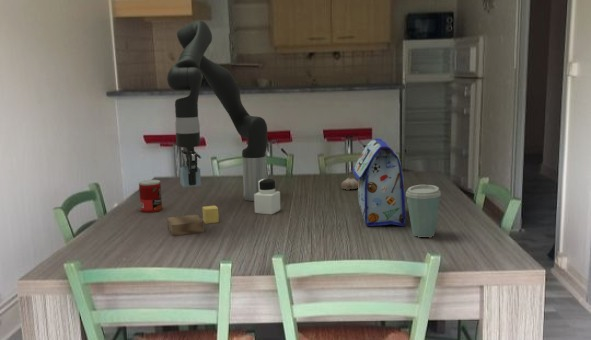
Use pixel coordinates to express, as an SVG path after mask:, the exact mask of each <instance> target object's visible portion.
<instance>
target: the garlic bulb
mask: <svg viewBox="0 0 591 340" xmlns="http://www.w3.org/2000/svg"><path fill="white" fill-rule="evenodd" d="M352 176H353V170H350V171H349V176H348V178H346V179H344V180H343V181H341V185H340V186H341V188H342V189H343V190H345V189H346V191H351V190H358V189H357V188H358V179H357V178H355V177H352ZM350 189H351V190H350Z"/></svg>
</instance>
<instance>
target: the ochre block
mask: <svg viewBox="0 0 591 340" xmlns="http://www.w3.org/2000/svg"><path fill="white" fill-rule="evenodd" d="M219 219H220V216H219V208H218V206H216V205H208V206H202V221H203V223H204V224H206V225H207V224H215V223H220V221H219Z"/></svg>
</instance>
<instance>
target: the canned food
mask: <svg viewBox="0 0 591 340" xmlns="http://www.w3.org/2000/svg"><path fill="white" fill-rule="evenodd" d="M138 189H139V190H138V192H139V203H140V211H142V212H143V213H156V212H159V211H162V209H163V204H162V203H163V201H162V199H163V198H162V185H161V180H158V179H146V180H145V179H144V180H140V181H139V182H138Z"/></svg>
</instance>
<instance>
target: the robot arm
mask: <svg viewBox="0 0 591 340" xmlns="http://www.w3.org/2000/svg"><path fill="white" fill-rule="evenodd" d="M176 36H177V40H178V42H179V44H180V45H181V47H182V51H181V53H180V54H179V57H178V61H177V62H176V63H175V64H174V65H172V66H171V68H170V69H169V71H168V74H167V78H166V80H167V84H168V87H170V89H172V90H173V91H190V92H189V94H188V96H184V97H181V98H177V99H176V100H175V101H174V109H175V110H174V111H175V112H174V113H175V122H174V124H175V125H174V126H175V140H176V141H175V143H176V147H178V148H183V149H181V150H180V154H181V164H182V165H181V168H183V167H187V169H188V178H189V185H196V172H197V171H198V170H197V167H198V154H197V152H196V151H195V147H199V146H201V131H200V130H201V129H200V120H199V108H198V106H199V105H198V103H199V95H200V91H201V86H202V82H203V77H204V79H205V80H206V82H207V84H208V85H209V87H210V89H211V91H212V92H213V94H214V95H215V97H217V100H219V102H220V103H221V105H222V106H223V109H224V110H225V111H226V112H227V114H228V116H229V118H230V121H232V124H233V126H234V128H235V130H236V132H237V133H238V134H239V136H240V137H241V138H243V139H246V140H247V146H246V147H245V148H243V149H242V151H241V157H242V158H241V159H242V160H241V161H242V178H243V179H242V182H243V199H244V201H249V202H254V194H256V193H258V192H260V191H259V185H258V182H259V181H260V180H262V179H269V176H268V175H267V163H266V160H267V159H266V152H267V150H268V125H267V122H266V120H265V119H264V118H263V117H261V116H253V115H250V114H249V112H248V111H247V110H246V108H245V106H244V105H243V103H242V100H241V98H242V97H241V91H240V87H239V85H238V82H237V81H236V79H235V78H234V76H233V74H232V73H231V71H230V70H229V69H227V68H226V67H223V66H222V65H220V64H217V62H214V61H212V60H210V59H209V58H207V57H206V56H205V53H206V51H207V50H208V47H209V46H210V45H211V43H212V42H213V35H212V30H211V29H210V27H209V25H208V24H207V23H206V22H205V21H203V20H202V19H201V20H196V21H194V22H192V23H190V24H187V25H185V26H183V27H182V28H180V29H179V30H177V32H176ZM191 167H193V168H194V169H191Z"/></svg>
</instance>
